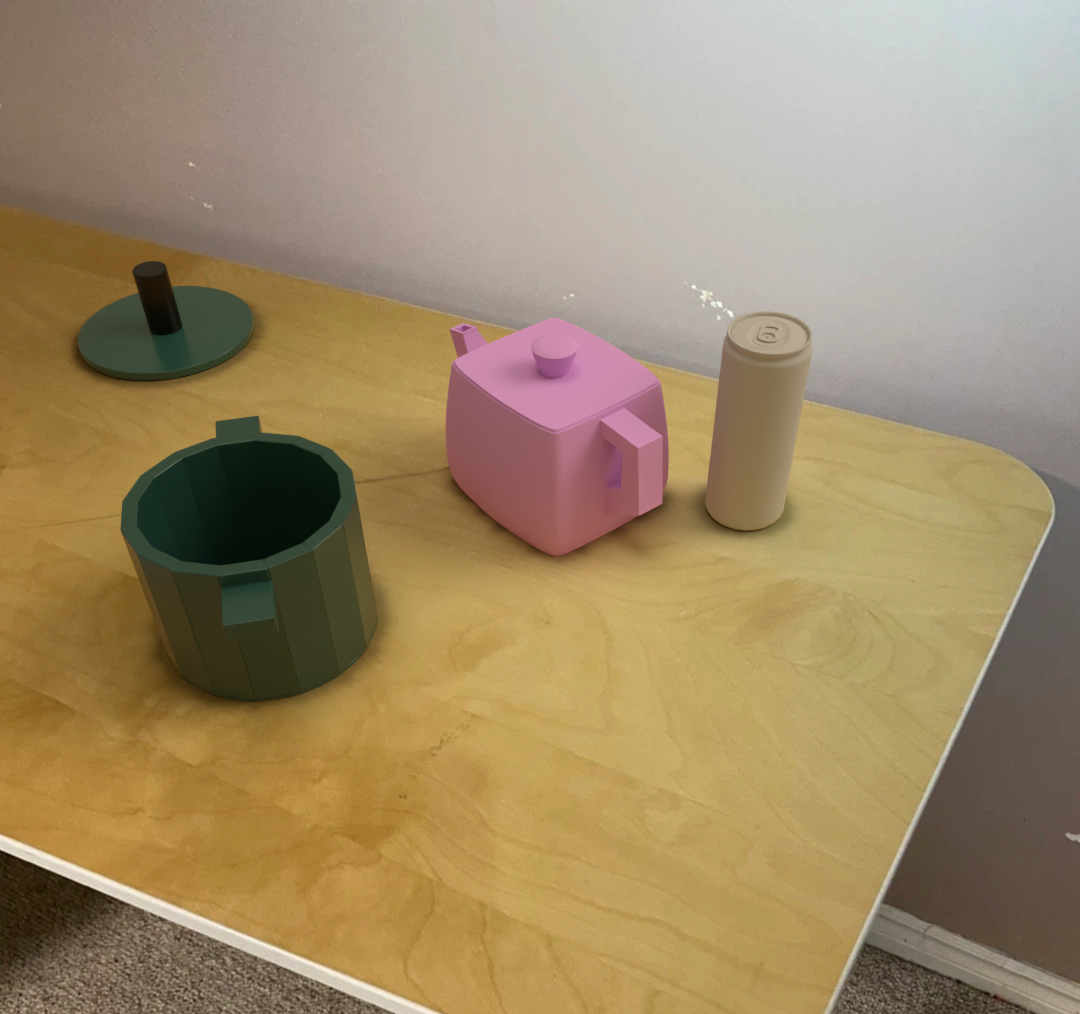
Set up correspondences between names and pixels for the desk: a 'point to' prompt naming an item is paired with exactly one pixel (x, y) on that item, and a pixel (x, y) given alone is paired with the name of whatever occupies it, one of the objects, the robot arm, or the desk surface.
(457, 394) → the teapot
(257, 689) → the pot
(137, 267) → the lid
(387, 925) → the desk surface
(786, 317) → the beverage can
